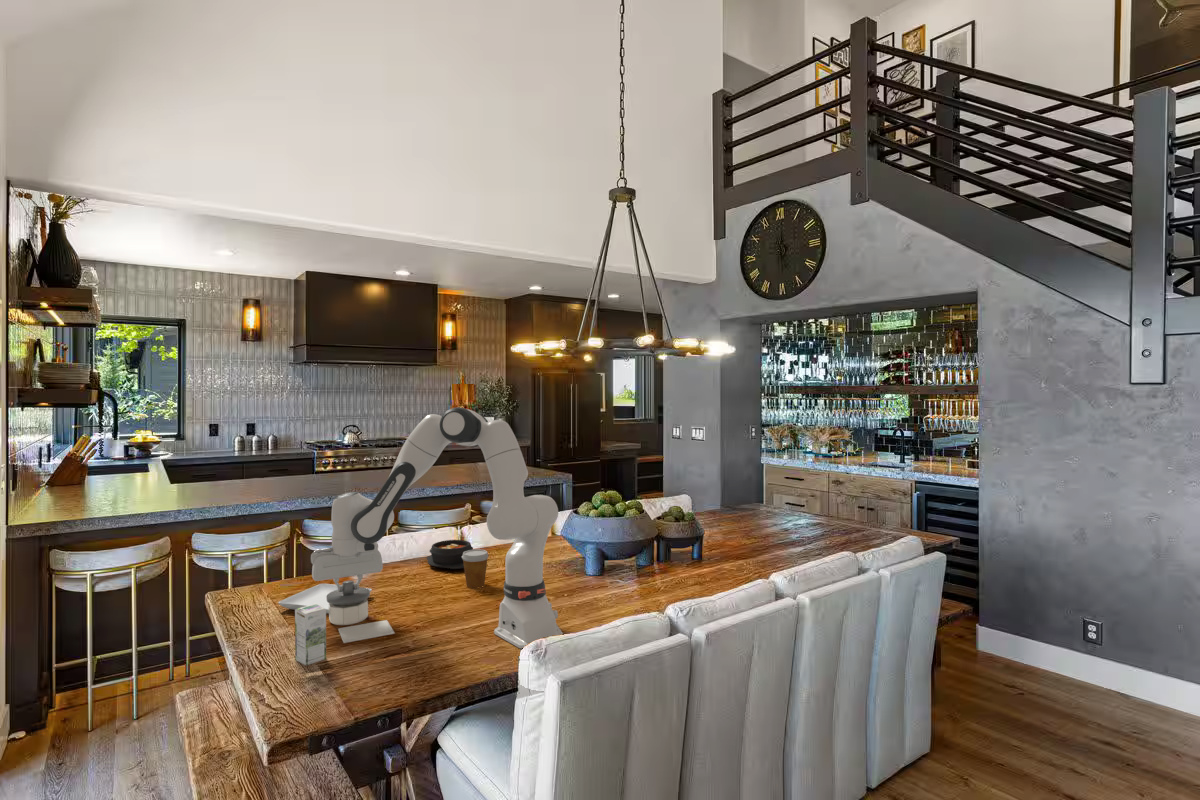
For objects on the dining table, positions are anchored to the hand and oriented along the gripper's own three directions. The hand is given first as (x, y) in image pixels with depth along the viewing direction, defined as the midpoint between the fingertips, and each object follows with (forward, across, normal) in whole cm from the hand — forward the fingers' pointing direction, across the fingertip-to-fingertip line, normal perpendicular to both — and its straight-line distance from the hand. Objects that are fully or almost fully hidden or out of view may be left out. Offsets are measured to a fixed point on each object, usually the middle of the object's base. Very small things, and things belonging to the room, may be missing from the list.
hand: (348, 590), depth 203 cm
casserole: (+10, +45, +44) cm, 64 cm away
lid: (+2, 0, 0) cm, 2 cm away
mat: (+10, +3, -13) cm, 16 cm away
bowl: (+10, 0, 0) cm, 10 cm away
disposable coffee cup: (+10, +45, +14) cm, 48 cm away
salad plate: (+10, -4, +20) cm, 23 cm away
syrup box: (+10, -13, -26) cm, 31 cm away
